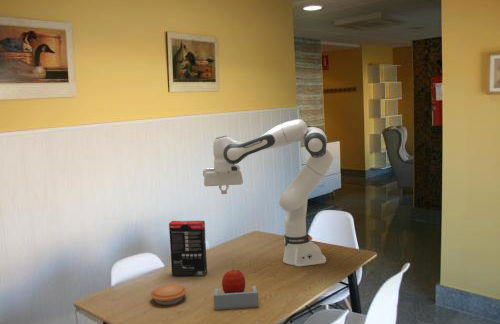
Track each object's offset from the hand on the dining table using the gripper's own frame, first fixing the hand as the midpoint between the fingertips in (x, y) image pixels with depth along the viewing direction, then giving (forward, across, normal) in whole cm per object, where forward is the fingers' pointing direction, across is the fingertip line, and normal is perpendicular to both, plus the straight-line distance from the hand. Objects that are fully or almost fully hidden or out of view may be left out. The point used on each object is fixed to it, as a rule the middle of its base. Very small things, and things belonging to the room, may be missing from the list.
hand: (224, 193), depth 242 cm
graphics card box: (+37, -19, -14) cm, 44 cm away
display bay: (+37, +3, -48) cm, 61 cm away
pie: (+38, -26, -43) cm, 63 cm away
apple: (+37, +2, -47) cm, 60 cm away
